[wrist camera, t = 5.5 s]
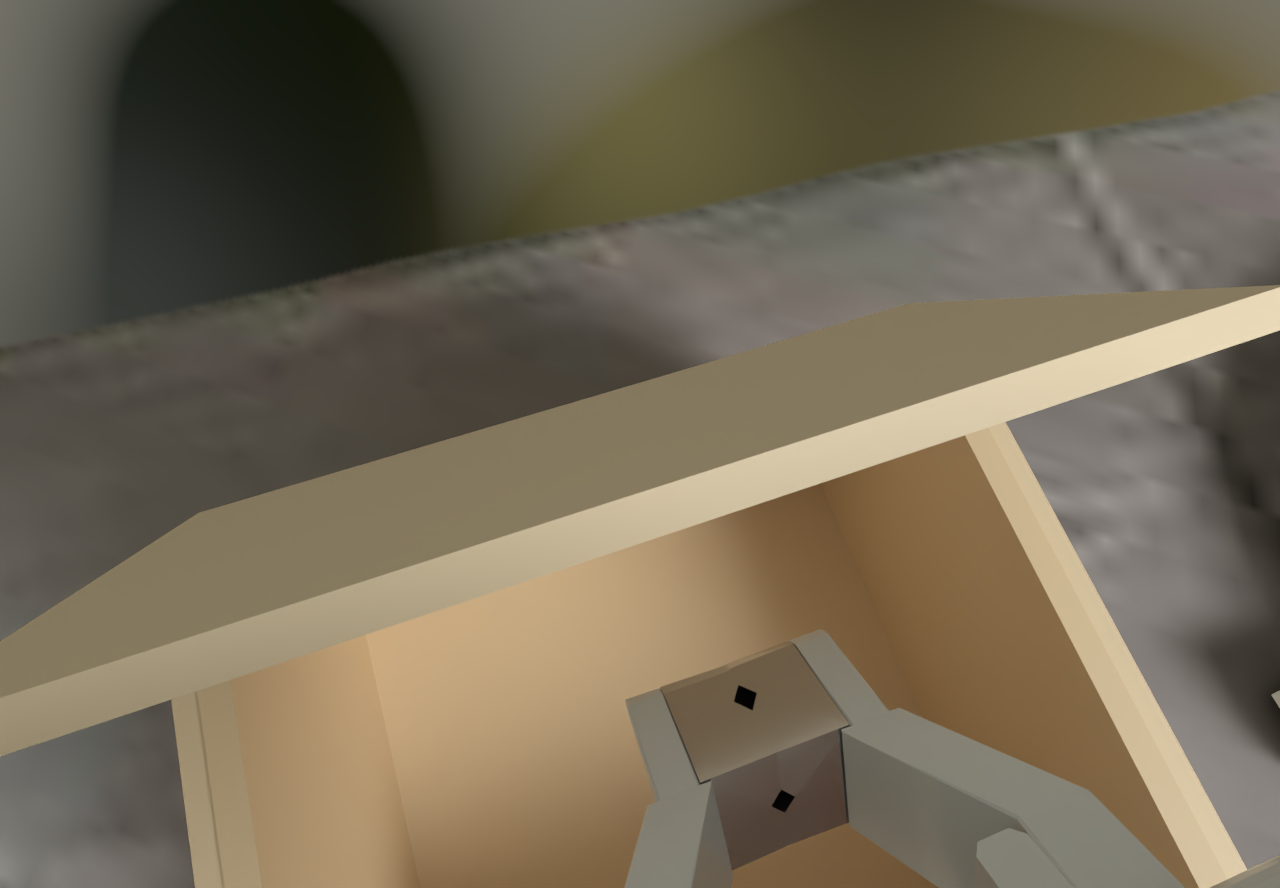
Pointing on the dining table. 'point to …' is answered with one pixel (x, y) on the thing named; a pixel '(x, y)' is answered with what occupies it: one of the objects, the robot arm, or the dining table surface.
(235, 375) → the dining table surface
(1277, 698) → the ring with crossbar
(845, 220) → the dining table surface
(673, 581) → the carton
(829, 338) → the carton flap
